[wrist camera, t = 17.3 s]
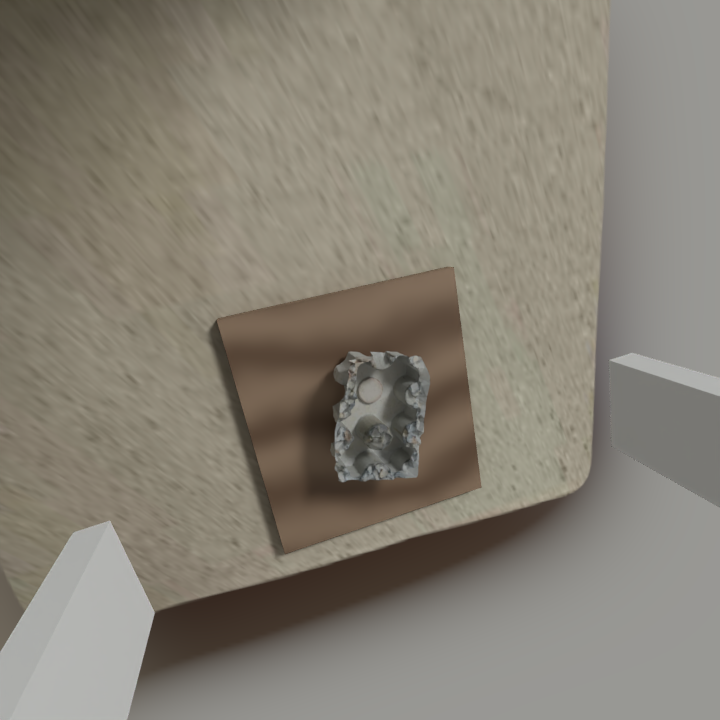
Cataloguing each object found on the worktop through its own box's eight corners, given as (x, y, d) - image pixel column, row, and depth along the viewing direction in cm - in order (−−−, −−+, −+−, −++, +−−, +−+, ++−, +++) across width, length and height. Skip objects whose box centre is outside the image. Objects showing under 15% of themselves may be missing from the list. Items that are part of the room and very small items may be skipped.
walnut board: (217, 318, 33) (216, 320, 32) (447, 266, 37) (453, 267, 36) (283, 545, 40) (285, 554, 38) (475, 481, 43) (481, 487, 42)
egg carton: (333, 346, 34) (348, 355, 31) (415, 350, 37) (439, 359, 33) (322, 468, 36) (335, 491, 32) (401, 464, 39) (422, 485, 35)
